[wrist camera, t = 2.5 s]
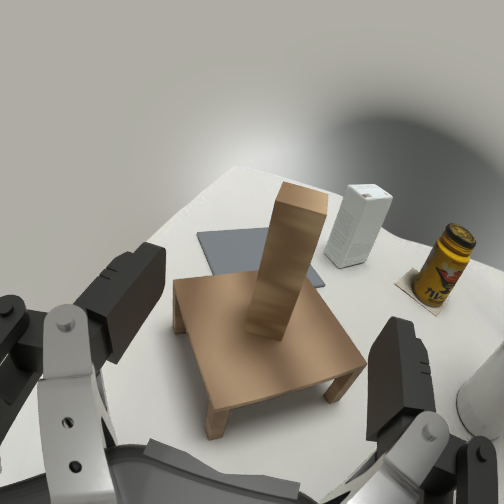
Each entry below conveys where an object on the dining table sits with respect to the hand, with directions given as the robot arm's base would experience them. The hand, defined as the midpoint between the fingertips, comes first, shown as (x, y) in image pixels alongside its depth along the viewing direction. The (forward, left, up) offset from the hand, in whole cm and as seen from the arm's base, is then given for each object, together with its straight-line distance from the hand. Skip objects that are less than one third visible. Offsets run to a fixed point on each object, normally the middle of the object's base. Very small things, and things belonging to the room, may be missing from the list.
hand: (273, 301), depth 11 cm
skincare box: (-28, -23, -20) cm, 41 cm away
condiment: (-38, -13, -20) cm, 45 cm away
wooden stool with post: (-7, -9, -20) cm, 23 cm away
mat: (-14, -25, -20) cm, 35 cm away
